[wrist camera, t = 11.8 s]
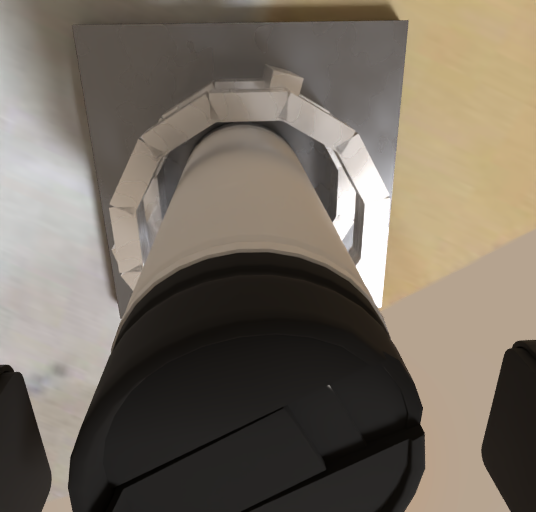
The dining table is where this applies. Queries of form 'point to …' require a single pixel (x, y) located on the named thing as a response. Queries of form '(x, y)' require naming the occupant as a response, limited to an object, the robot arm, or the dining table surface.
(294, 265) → the travel mug
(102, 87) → the collar stand
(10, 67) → the dining table surface
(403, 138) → the dining table surface
